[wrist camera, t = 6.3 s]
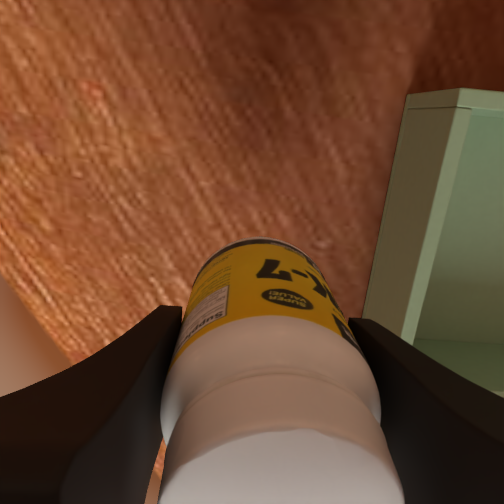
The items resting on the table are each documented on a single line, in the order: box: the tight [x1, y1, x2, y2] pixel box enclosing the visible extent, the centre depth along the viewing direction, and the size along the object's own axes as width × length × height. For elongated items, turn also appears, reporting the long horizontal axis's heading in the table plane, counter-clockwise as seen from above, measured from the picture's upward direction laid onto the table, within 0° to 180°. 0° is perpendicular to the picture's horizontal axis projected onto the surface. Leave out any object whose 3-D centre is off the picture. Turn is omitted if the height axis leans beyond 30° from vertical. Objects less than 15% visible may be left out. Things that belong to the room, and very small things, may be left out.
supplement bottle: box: [157, 237, 405, 504], centre depth 10 cm, size 5×5×8 cm
